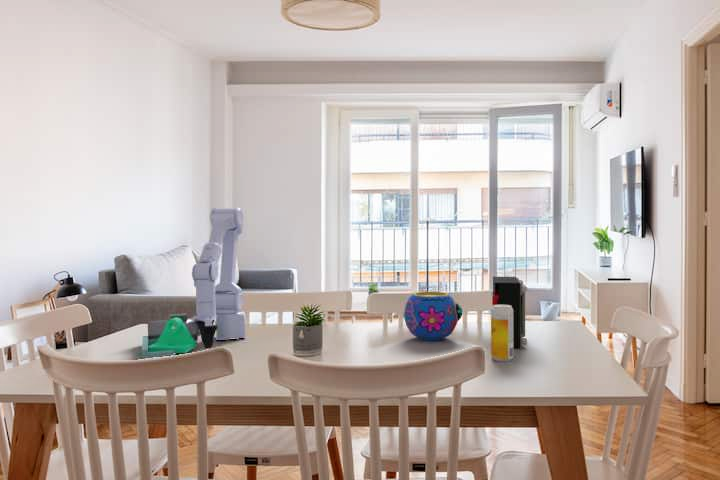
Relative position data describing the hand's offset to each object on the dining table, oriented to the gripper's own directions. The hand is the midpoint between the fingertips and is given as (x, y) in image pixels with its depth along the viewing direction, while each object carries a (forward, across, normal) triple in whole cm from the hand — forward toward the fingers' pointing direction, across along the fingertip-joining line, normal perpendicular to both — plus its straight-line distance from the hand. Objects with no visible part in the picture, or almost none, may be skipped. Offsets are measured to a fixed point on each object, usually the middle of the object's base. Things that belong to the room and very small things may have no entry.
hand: (207, 345), depth 173 cm
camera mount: (+2, -2, -10) cm, 11 cm away
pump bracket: (+1, 0, -14) cm, 14 cm away
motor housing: (+2, -13, -10) cm, 16 cm away
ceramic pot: (+2, +14, +70) cm, 71 cm away
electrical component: (+2, +28, +90) cm, 94 cm away
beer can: (+2, +45, +76) cm, 88 cm away
